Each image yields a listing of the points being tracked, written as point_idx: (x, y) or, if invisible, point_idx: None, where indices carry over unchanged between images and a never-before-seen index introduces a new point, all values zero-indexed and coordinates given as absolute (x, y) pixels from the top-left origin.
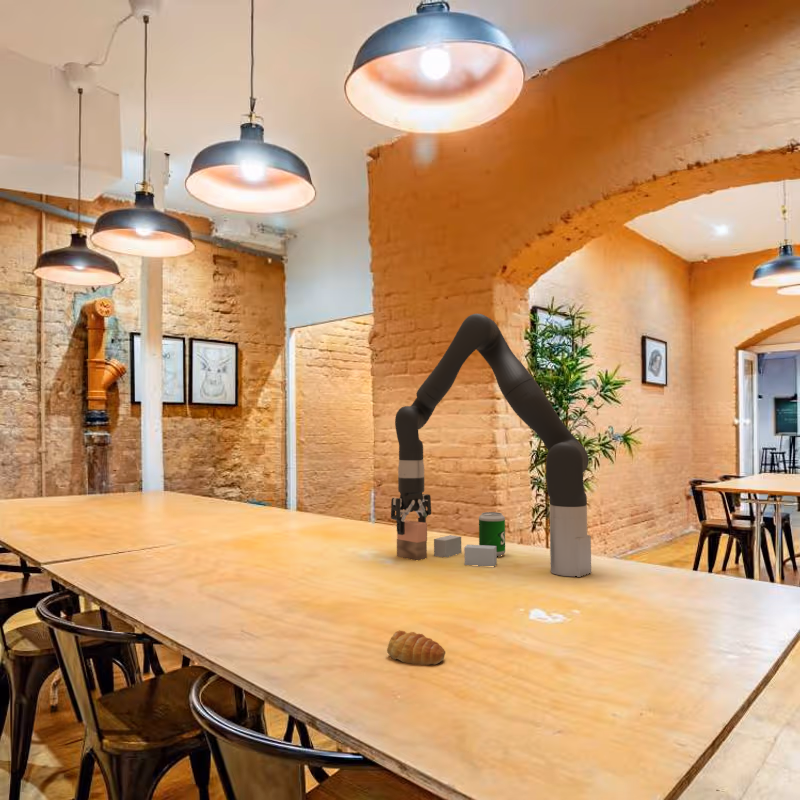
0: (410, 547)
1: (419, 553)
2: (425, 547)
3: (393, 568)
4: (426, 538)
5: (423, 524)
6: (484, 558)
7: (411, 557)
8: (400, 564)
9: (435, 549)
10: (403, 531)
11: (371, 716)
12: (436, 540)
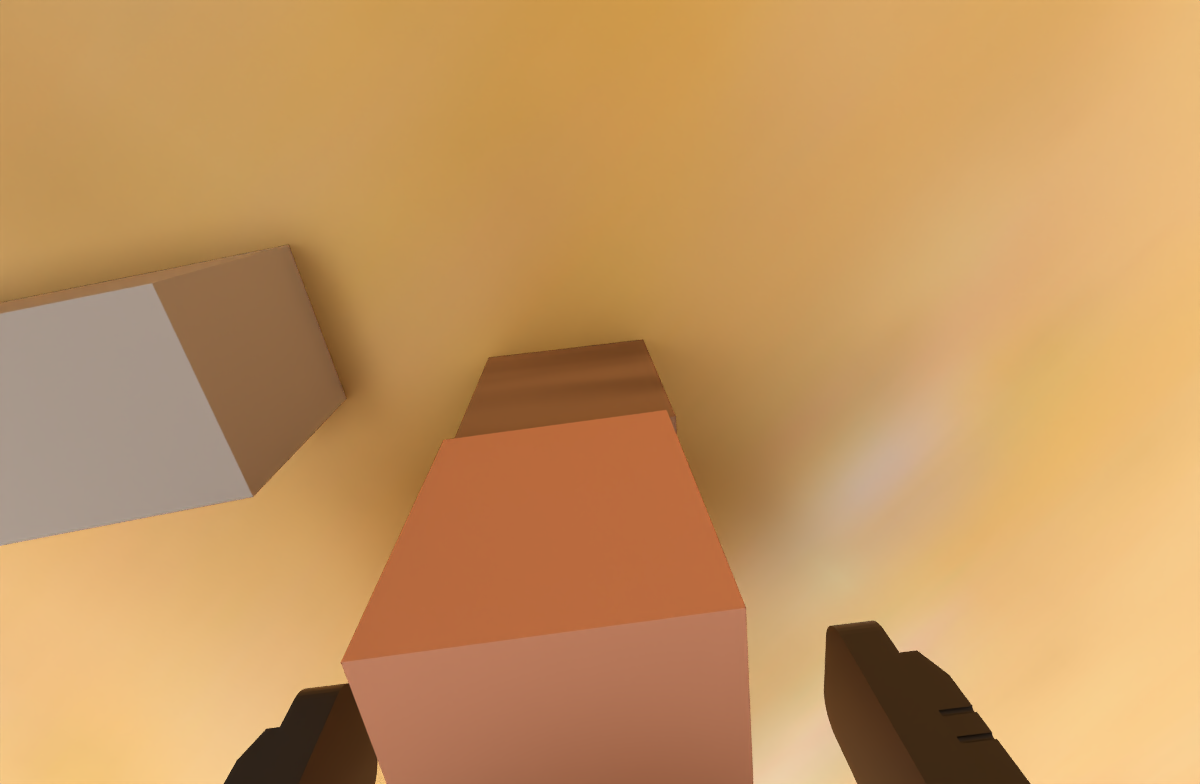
0: None
1: (609, 367)
2: (493, 400)
3: (1083, 212)
4: (453, 455)
5: (496, 626)
6: None
7: None
8: (893, 311)
9: (308, 409)
10: (886, 657)
11: None
12: (241, 445)
